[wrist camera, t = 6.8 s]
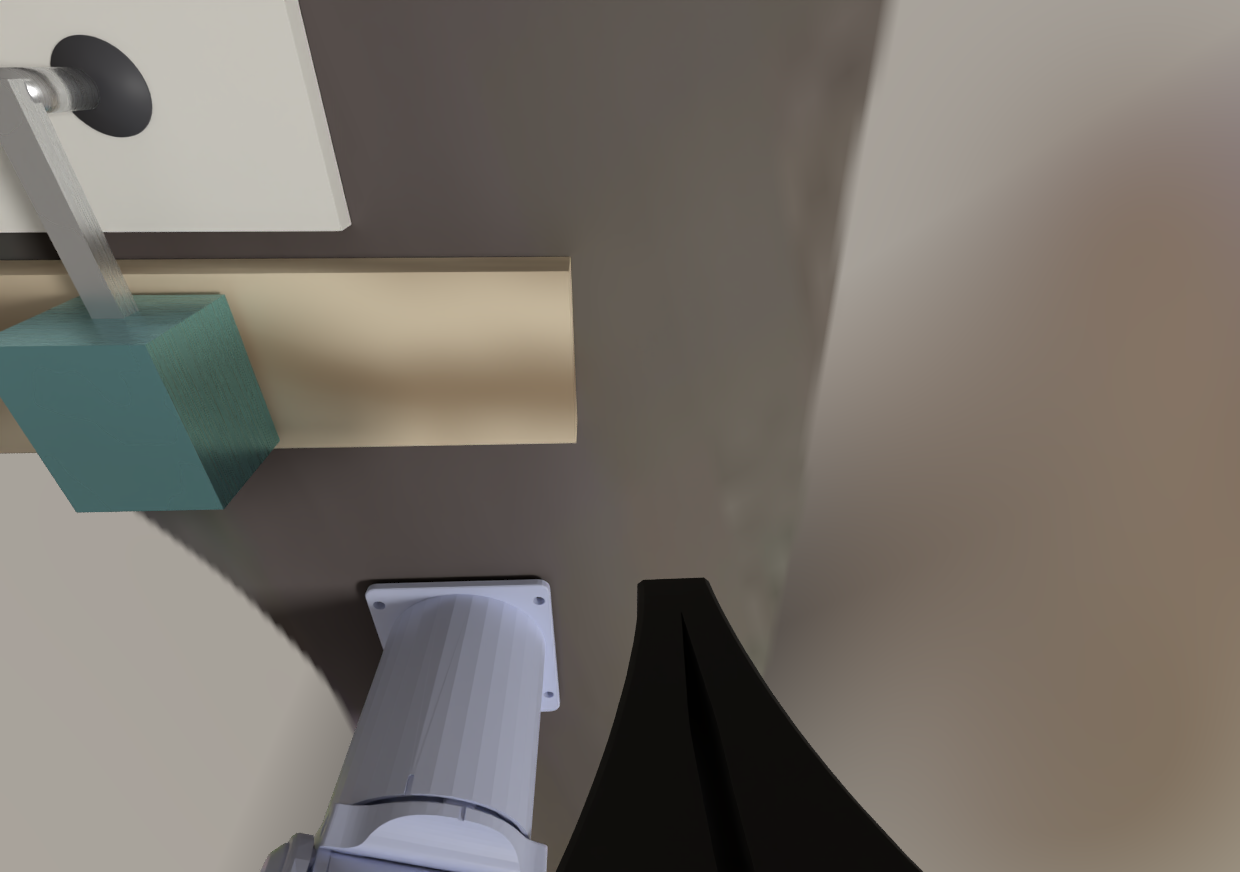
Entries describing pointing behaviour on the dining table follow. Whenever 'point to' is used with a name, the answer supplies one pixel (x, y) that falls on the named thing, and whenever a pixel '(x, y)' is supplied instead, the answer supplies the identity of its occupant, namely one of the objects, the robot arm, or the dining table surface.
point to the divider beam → (370, 343)
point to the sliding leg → (119, 348)
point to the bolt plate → (182, 115)
